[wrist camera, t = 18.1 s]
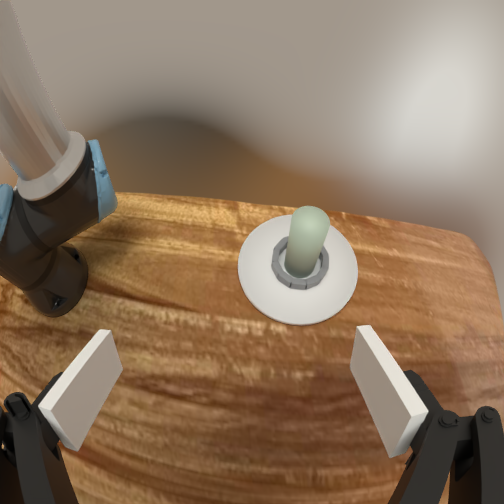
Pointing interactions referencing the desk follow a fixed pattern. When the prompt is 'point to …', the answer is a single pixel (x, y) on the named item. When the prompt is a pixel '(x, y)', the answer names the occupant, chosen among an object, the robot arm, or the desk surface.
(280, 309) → the carrier plate
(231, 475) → the desk surface
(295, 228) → the sage green cylinder
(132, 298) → the desk surface
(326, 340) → the desk surface
